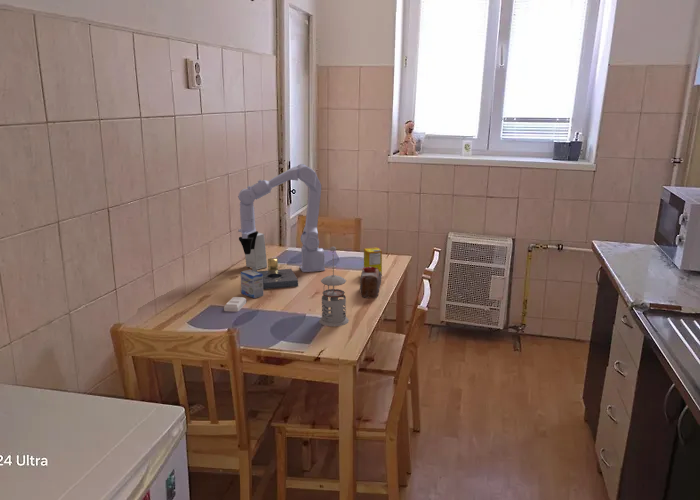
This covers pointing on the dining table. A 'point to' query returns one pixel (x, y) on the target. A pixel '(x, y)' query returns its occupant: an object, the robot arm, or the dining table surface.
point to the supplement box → (373, 258)
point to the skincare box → (257, 254)
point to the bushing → (272, 264)
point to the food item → (370, 282)
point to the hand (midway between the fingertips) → (249, 251)
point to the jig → (278, 278)
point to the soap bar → (235, 304)
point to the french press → (333, 301)
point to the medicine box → (252, 283)
